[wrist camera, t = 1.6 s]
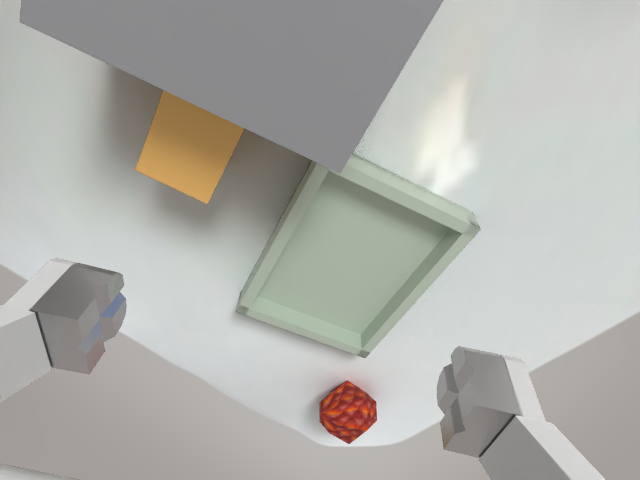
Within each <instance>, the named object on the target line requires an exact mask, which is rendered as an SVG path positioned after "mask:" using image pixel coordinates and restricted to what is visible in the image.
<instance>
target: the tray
mask: <svg viewBox="0 0 640 480" xmlns="http://www.w3.org/2000/svg"><path fill="white" fill-rule="evenodd" d="M480 230H481V228H480V226H479V224H478V222H477V220H476V218H475V216H474V214H473V212H471V211H469V210H467V209H465V208H463V207H461V206H459V205H456V204H454V203H452V202H450V201H448V200H446V199H444V198H442V197H440V196H438V195H436V194H434V193H432V192H430V191H428V190H426V189H424V188H422V187H420V186H418V185H416V184H414V183H412V182H410V181H408V180H406V179H404V178H401V177H399V176H397V175H395V174H393V173H391V172H389V171H387V170H385V169H383V168H381V167H379V166H377V165H375V164H373V163H371V162H369V161H367V160H365V159H363V158H361V157H359V156H357V155H355V154H353V153H352V155H351V157H350V158H349V160H348V162H347V163H346V165H345V167H344V168H343V170H342V172H341V173H338V172H335V171H333V170H331V169H329V168H327V167H325V166H323V165H321V164H319V163H316V162H314V161H311V163H310V165H309V167H308V169H307V171H306V172H305V174H304V176H303V178H302V180H301V182H300V184H299V185H298V187H297V189H296V191H295V193H294V195H293V197H292V198H291V200H290V202H289V204H288V206H287V208H286V210H285V211H284V213H283V215H282V217H281V219H280V221H279V223H278V224H277V226H276V228H275V230H274V232H273V234H272V236H271V237H270V239H269V241H268V243H267V245H266V247H265V249H264V250H263V252H262V254H261V256H260V258H259V260H258V262H257V264H256V265H255V267H254V269H253V271H252V273H251V275H250V277H249V278H248V280H247V282H246V284H245V286H244V288H243V290H242V291H241V293H240V297H239V301H238V305H237V308H236V312H238V313H241V314H243V315H246V316H249V317H252V318H255V319H257V320H260V321H263V322H266V323H269V324H271V325H274V326H277V327H280V328H282V329H285V330H288V331H291V332H294V333H296V334H299V335H302V336H305V337H307V338H310V339H313V340H316V341H319V342H321V343H324V344H327V345H330V346H333V347H335V348H338V349H341V350H344V351H346V352H349V353H352V354H355V355H358V356H360V357H363V358H366V357H367V356H368V355H369V353H370V352H371V351H372V350H373V349H374V348H375V347H376V346H377V345H378V343H379V342H380V341H381V340H382V339H383V338H384V337H385V336H386V335H387V333H388V332H389V331H390V330H391V329H392V328H393V327H394V326H395V325H396V323H397V322H398V321H399V320H400V319H401V318H402V317H403V316H404V315H405V313H406V312H407V311H408V310H409V309H410V308H411V307H412V306H413V304H414V303H415V302H416V301H417V300H418V299H419V298H420V297H421V296H422V294H423V293H424V292H425V291H426V290H427V289H428V288H429V287H430V286H431V284H432V283H433V282H434V281H435V280H436V279H437V278H438V277H439V276H440V274H441V273H442V272H443V271H444V270H445V269H446V268H447V267H448V266H449V264H450V263H451V262H452V261H453V260H454V259H455V258H456V257H457V256H458V254H459V253H460V252H461V251H462V250H463V249H464V248H465V247H466V246H467V244H468V243H469V242H470V241H471V240H472V239H473V238H474V237H475V235H476V234H477V233H478V232H479V231H480Z"/></svg>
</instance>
